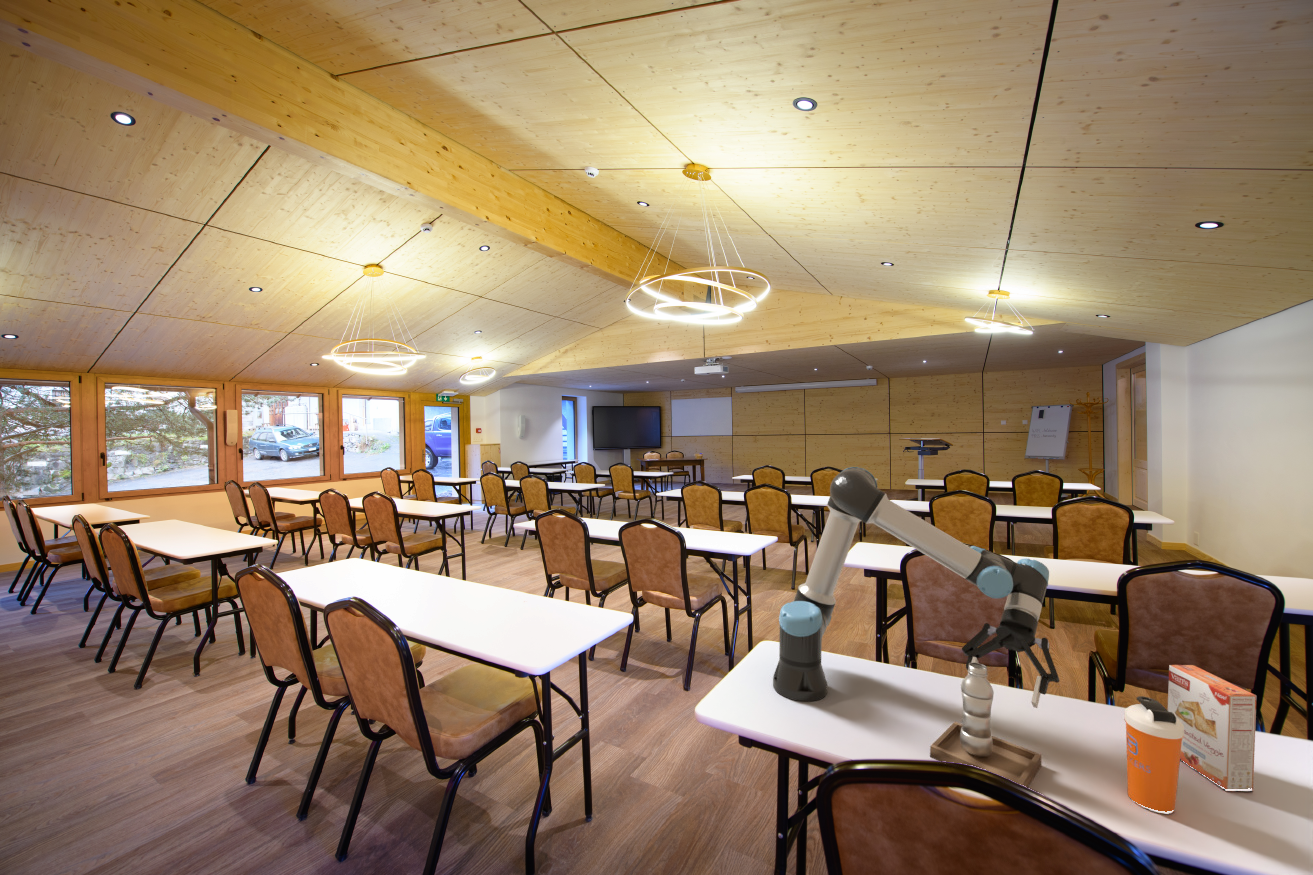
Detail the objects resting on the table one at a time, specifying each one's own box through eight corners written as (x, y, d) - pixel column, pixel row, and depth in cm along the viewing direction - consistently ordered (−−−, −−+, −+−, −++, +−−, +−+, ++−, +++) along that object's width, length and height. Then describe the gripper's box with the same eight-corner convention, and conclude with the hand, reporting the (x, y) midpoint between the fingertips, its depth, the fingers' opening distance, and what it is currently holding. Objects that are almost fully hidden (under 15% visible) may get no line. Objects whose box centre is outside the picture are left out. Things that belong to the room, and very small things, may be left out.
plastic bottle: (981, 764, 121) (983, 674, 121) (952, 747, 127) (955, 662, 127) (999, 756, 124) (1001, 669, 123) (970, 740, 130) (972, 657, 129)
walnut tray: (930, 756, 126) (930, 745, 125) (954, 731, 136) (954, 721, 136) (1021, 796, 112) (1022, 784, 112) (1041, 765, 122) (1041, 754, 122)
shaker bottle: (1156, 788, 115) (1160, 694, 114) (1194, 819, 106) (1198, 718, 105) (1110, 785, 116) (1113, 692, 115) (1144, 816, 107) (1147, 715, 106)
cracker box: (1164, 751, 128) (1167, 663, 127) (1190, 752, 127) (1194, 663, 127) (1224, 792, 114) (1228, 693, 113) (1254, 793, 113) (1258, 694, 113)
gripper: (1084, 637, 132) (1067, 722, 122) (970, 610, 150) (948, 682, 141) (1079, 621, 128) (1061, 707, 119) (963, 595, 147) (940, 668, 137)
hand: (1000, 693), depth 130 cm, fingers open, 13 cm apart
